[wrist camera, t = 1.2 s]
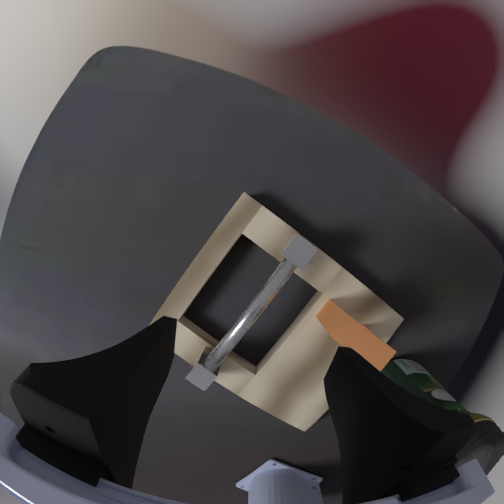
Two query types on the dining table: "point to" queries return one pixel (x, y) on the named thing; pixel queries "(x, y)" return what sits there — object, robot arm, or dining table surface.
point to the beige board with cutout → (298, 333)
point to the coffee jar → (429, 389)
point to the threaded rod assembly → (251, 311)
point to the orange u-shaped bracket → (354, 335)
